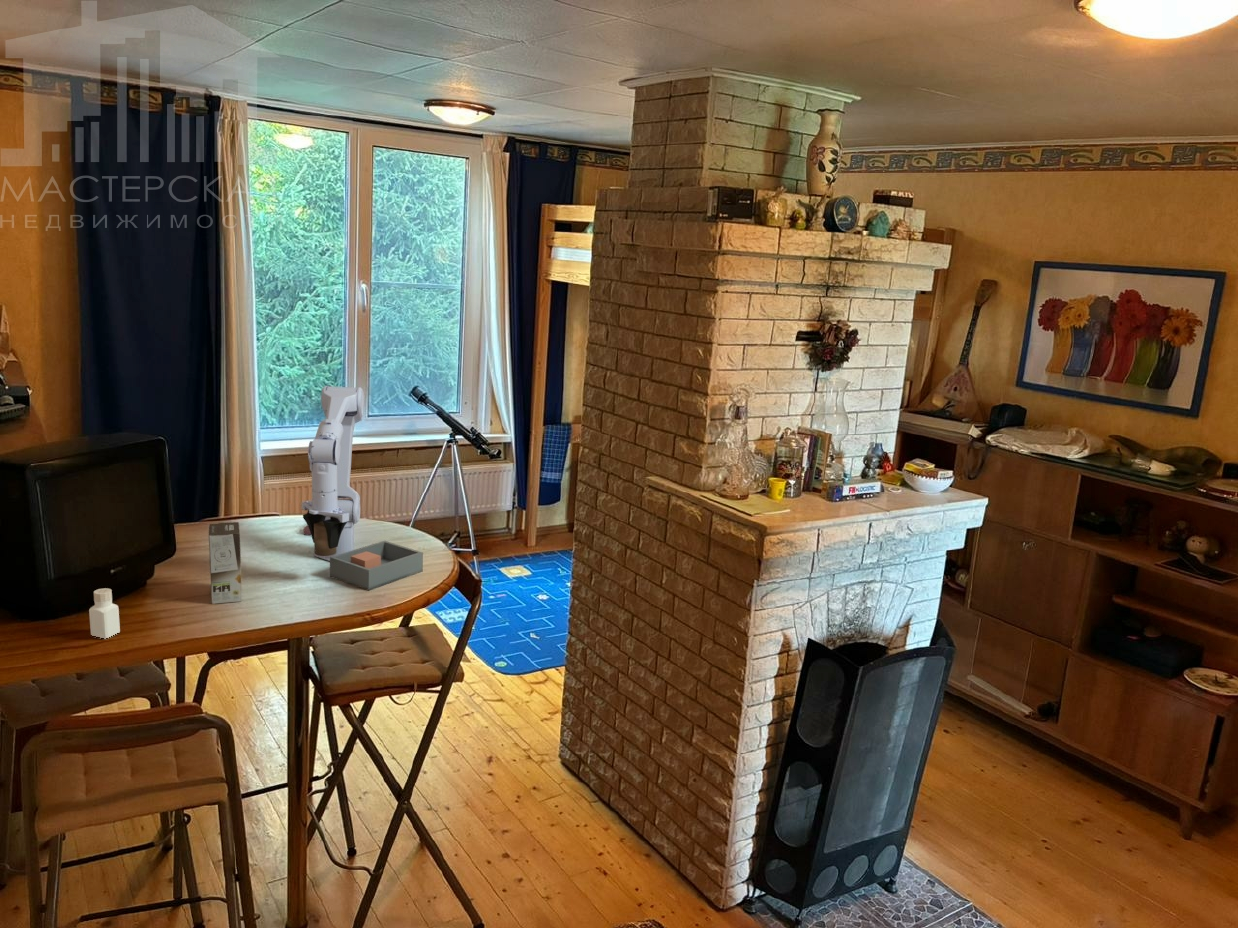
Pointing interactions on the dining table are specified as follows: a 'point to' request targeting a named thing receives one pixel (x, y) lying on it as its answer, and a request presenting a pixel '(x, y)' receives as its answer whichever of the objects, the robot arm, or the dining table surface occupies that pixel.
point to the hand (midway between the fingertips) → (325, 544)
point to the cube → (366, 559)
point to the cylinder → (321, 541)
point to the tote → (393, 566)
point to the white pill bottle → (104, 615)
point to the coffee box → (225, 562)
